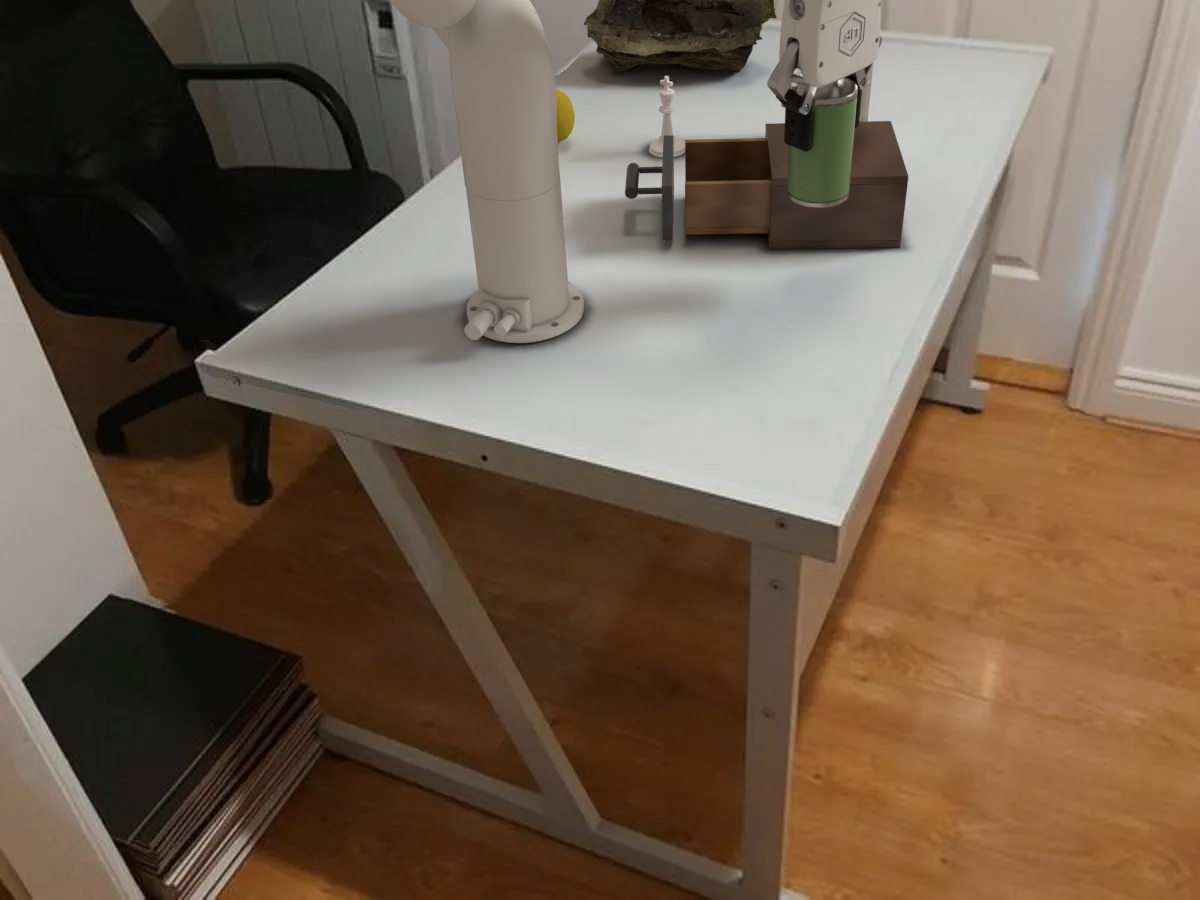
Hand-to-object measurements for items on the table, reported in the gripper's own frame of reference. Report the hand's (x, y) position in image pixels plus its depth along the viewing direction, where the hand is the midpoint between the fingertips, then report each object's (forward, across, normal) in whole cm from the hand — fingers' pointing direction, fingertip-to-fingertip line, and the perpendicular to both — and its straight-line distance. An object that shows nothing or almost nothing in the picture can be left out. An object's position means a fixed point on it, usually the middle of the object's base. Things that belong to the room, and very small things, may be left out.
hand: (821, 134), depth 123 cm
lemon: (+17, +4, +48) cm, 51 cm away
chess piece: (+17, +13, +36) cm, 42 cm away
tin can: (+7, 0, 0) cm, 7 cm away
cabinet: (+17, +13, +8) cm, 23 cm away
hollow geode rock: (+17, +34, +55) cm, 67 cm away
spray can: (+17, +30, +21) cm, 40 cm away
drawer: (+16, +2, +19) cm, 25 cm away
